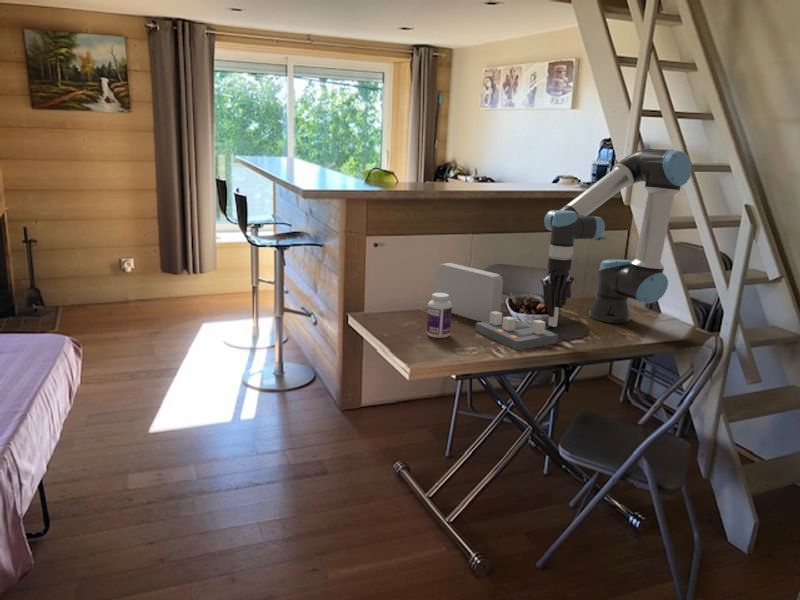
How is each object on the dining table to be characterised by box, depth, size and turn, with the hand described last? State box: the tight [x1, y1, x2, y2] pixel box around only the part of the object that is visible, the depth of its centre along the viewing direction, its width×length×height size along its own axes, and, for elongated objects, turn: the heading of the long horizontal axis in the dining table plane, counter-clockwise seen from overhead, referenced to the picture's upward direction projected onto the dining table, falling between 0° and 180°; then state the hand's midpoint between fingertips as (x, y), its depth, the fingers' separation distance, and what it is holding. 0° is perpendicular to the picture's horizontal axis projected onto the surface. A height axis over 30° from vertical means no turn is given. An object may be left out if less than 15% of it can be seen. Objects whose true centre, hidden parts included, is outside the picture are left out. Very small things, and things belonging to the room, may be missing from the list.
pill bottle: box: [426, 292, 452, 339], centre depth 213 cm, size 8×8×14 cm
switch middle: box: [502, 316, 516, 331], centre depth 214 cm, size 3×3×4 cm
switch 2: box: [531, 319, 546, 335], centre depth 211 cm, size 3×3×4 cm
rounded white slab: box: [434, 262, 504, 322], centre depth 239 cm, size 29×8×18 cm, turn 44°
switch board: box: [474, 318, 559, 351], centre depth 216 cm, size 18×22×3 cm
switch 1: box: [489, 311, 503, 325], centre depth 219 cm, size 3×3×4 cm
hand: (552, 325), depth 214 cm, fingers closed
